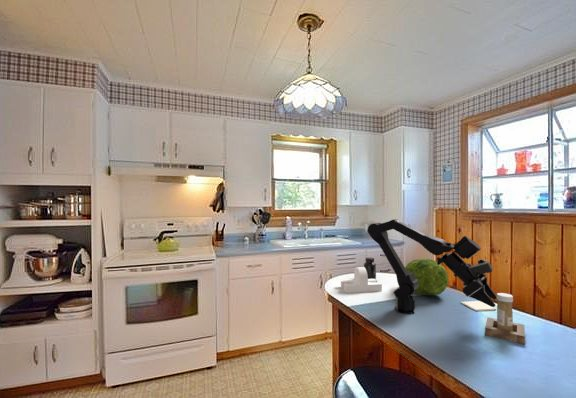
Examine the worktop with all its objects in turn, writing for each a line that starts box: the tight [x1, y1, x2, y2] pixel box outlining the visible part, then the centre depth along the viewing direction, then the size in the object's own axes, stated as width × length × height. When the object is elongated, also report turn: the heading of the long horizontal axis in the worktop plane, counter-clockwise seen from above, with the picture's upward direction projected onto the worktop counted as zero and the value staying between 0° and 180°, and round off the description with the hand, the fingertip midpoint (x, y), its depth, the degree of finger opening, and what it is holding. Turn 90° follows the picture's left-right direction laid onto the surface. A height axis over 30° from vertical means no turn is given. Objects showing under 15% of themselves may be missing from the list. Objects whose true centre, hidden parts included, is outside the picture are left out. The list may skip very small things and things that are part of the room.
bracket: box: [340, 266, 383, 294], centre depth 150 cm, size 19×10×11 cm, turn 95°
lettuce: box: [404, 258, 449, 297], centre depth 143 cm, size 17×23×17 cm
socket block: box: [484, 317, 526, 345], centre depth 100 cm, size 11×11×2 cm
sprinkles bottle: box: [496, 292, 514, 331], centre depth 100 cm, size 5×5×14 cm
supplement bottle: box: [363, 257, 377, 280], centre depth 168 cm, size 7×7×12 cm
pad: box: [460, 300, 497, 312], centre depth 125 cm, size 9×9×1 cm
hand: (495, 302), depth 102 cm, fingers open, 9 cm apart
